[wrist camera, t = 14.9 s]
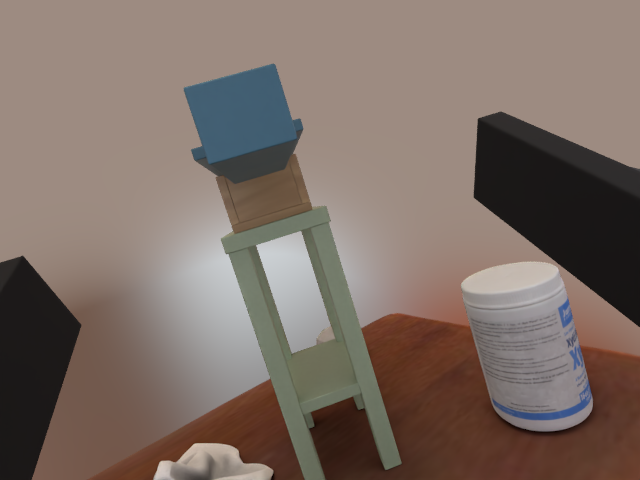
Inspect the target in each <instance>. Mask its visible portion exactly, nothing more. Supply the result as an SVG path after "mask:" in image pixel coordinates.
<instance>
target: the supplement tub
mask: <svg viewBox="0 0 640 480" xmlns="http://www.w3.org/2000/svg"><path fill="white" fill-rule="evenodd" d="M461 289H462V293H463V301H464V305H465V309H466V313H467V316H468V319H469V324H470V327H471V331H472V334H473V338H474V341H475V345H476V348H477V352H478V356H479V360H480V363H481V367H482V370H483V374H484V377H485V381H486V384H487V388H488V392H489V395H490V399H491V402H492V405H493V408H494V409H495V411H496V412H497V413H498V414H499V415H500V416H501V417H502V418H503V419H504V420H506V421H507V422H509V423H511V424H512V425H515V426H517V427H520V428H523V429H527V430H532V431H558V430H563V429H567V428H570V427H573V426H575V425H577V424H579V423H581V422H582V421H584V420H585V419H586V418H587V417H588V416H589V414H590V413H591V410H592V407H593V399H592V394H591V390H590V386H589V381H588V377H587V373H586V369H585V365H584V361H583V357H582V353H581V349H580V345H579V341H578V337H577V333H576V329H575V325H574V321H573V317H572V313H571V308H570V304H569V300H568V296H567V293H566V289H565V286H564V282H563V280H562V279H561V276H560V273H559V270H558V268H557V267H556V266H554V265H552V264H549V263H544V262H519V263H511V264H505V265H500V266H495V267H491V268H488V269H485V270H482V271H479V272H477V273H475V274H473V275H470V276H469V277H467V278H466V279H465V280H464V281H463V282H462V284H461Z"/></svg>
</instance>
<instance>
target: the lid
mask: <svg viewBox="0 0 640 480" xmlns="http://www.w3.org/2000/svg"><path fill="white" fill-rule="evenodd" d="M184 92H185V95H186V98H187V101H188V104H189V107H190V110H191V113H192V116H193V119H194V122H195V125H196V128H197V131H198V134H199V137H200V140H201V143H202V146H201V147H198V148H194V149H192V150H191V151H192V154H193V157H194V160H195V161H196V162H198V163H199V164H201V165H202V166H204V167H205V168H207V169H208V170H210V171H211V172H213V173H214V174H216V175H217V176H222V175H224V176H225V177H226V178H227V179H229V180H230V181H231V182H233V183H234V184H237V183H240V182H244V181H247V180H250V179H254V178H257V177H261V176H264V175H267V174H271V173H274V172H277V171H281V170H284V169H285V168H286V166H287V163H288V161H289V158H290V156H291V155H292V154H293V152H294V150H295V147H296V145H297V143H298V140H299V138H300V136H301V133H302V131H303V126H302V122H301V119H296V120H292V118H291V115H290V111H289V108H288V105H287V101H286V99H285V95H284V92H283V88H282V85H281V82H280V79H279V75H278V72H277V69H276V66H275V64H270V65H266V66H263V67H259V68H255V69H251V70H248V71H244V72H240V73H237V74H233V75H229V76H225V77H222V78H218V79H214V80H210V81H207V82H203V83H200V84H196V85H192V86H188V87H185V88H184Z"/></svg>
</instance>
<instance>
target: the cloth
mask: <svg viewBox="0 0 640 480" xmlns="http://www.w3.org/2000/svg"><path fill="white" fill-rule="evenodd" d="M272 475H273V470H272V469H271V468H269V467H267V466H266V465H262V464H255V463H253V464H245V463H243V462H242V460H241V459H240V457H239V451H238V450H237V449H236V448H234V447H232V446H229V445H225V444H207V443H196V444H194V445H192V446H191V447H190V448H189V450H188V451H187V452H186V453H185V454H184V455H183V456H182V457H181V458H180V459H179V460H178V461H177V462H176V463H175V462H172V461H161V462H159V466H158V469H157V472H156V474H155V476H154V478H153V480H271V477H272Z"/></svg>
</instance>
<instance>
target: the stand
mask: <svg viewBox="0 0 640 480" xmlns="http://www.w3.org/2000/svg"><path fill="white" fill-rule="evenodd" d="M312 209H313V210H310V211H307V212H303V213H300V214H297V215H294V216H291V217H287V218H284V219H281V220H278V221H275V222H271V223H268V224H265V225H262V226H259V227H255V228H252V229H249V230H246V231H243V232H239V233H236V234H234V231H233V232H231V233H229V234H228V235H226V236H225V237H223V238H221V241H222V244H223V247H224V250H225V253H226V254H229V257H230V260H231V263H232V265H233V269H234V271H235V275H236V277H237V280H238V283H239V286H240V289H241V292H242V295H243V298H244V301H245V304H246V307H247V310H248V313H249V316H250V319H251V322H252V325H253V328H254V331H255V334H256V336H257V340H258V343H259V345H260V348H261V352H262V355H263V357H264V360H265V363H266V366H267V369H268V372H269V375H270V378H271V381H272V384H273V387H274V390H275V393H276V396H277V399H278V402H279V405H280V408H281V411H282V414H283V417H284V420H285V423H286V426H287V429H288V431H289V434H290V437H291V440H292V443H293V446H294V449H295V452H296V455H297V458H298V461H299V464H300V467H301V470H302V473H303V476H304V479H305V480H326V479H325V476H324V473H323V470H322V466H321V463H320V460H319V457H318V454H317V451H316V448H315V445H314V442H313V439H312V436H311V433H310V430H309V428H312V427H314V421H313V417H312V414H311V412H312V411H315V410H318V409H320V408H323V407H326V406H328V405H331V404H334V403H337V402H339V401H342V400H345V399H347V398H350V397H354V401H355V404H356V406H357V408H358V410H360V409H363V408H365V411H366V414H367V418H368V421H369V424H370V427H371V430H372V434H373V437H374V440H375V443H376V447H377V450H378V453H379V456H380V459H381V462H382V464H383V466H384V468H385V470H388V469H390V468H393V467H395V466H398V465H400V464H402V462H401V459H400V456H399V452H398V449H397V446H396V443H395V439H394V436H393V433H392V429H391V426H390V423H389V420H388V416H387V413H386V410H385V406H384V403H383V400H382V397H381V393H380V390H379V387H378V383H377V380H376V377H375V374H374V370H373V367H372V364H371V360H370V357H369V354H368V351H367V347H366V344H365V341H364V337H363V334H362V331H361V327H360V324H359V321H358V318H357V315H356V311H355V308H354V305H353V301H352V298H351V295H350V292H349V288H348V285H347V281H346V279H345V275H344V272H343V268H342V265H341V262H340V258H339V255H338V252H337V249H336V245H335V242H334V239H333V235H332V232H331V229H330V226H329V221H331V220H330V217H329V214H328V211H327V207H326V206H318V207H312ZM298 231H302V235H303V237H304V241H305V244H306V247H307V251H308V254H309V257H310V260H311V263H312V267H313V270H314V273H315V276H316V279H317V283H318V285H319V289H320V292H321V295H322V298H323V302H324V304H325V308H326V311H327V314H328V317H329V321H330V324H331V327H332V330H333V334H334V337H335V339H333V340H330V341H327V342H324V343H321V344H318V345H316V346H313V347H310V348H307V349H304V350H301V351H298V352H296V353H293V354H291V351H290V347H289V344H288V341H287V338H286V335H285V332H284V329H283V326H282V323H281V320H280V317H279V314H278V311H277V308H276V305H275V302H274V299H273V296H272V293H271V290H270V287H269V284H268V280H267V277H266V274H265V271H264V268H263V266H262V262H261V259H260V256H259V253H258V250H257V247H256V245H257V244H261V243H264V242H267V241H270V240H273V239H276V238H279V237H283V236H285V235H289V234H292V233H295V232H298Z"/></svg>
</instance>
